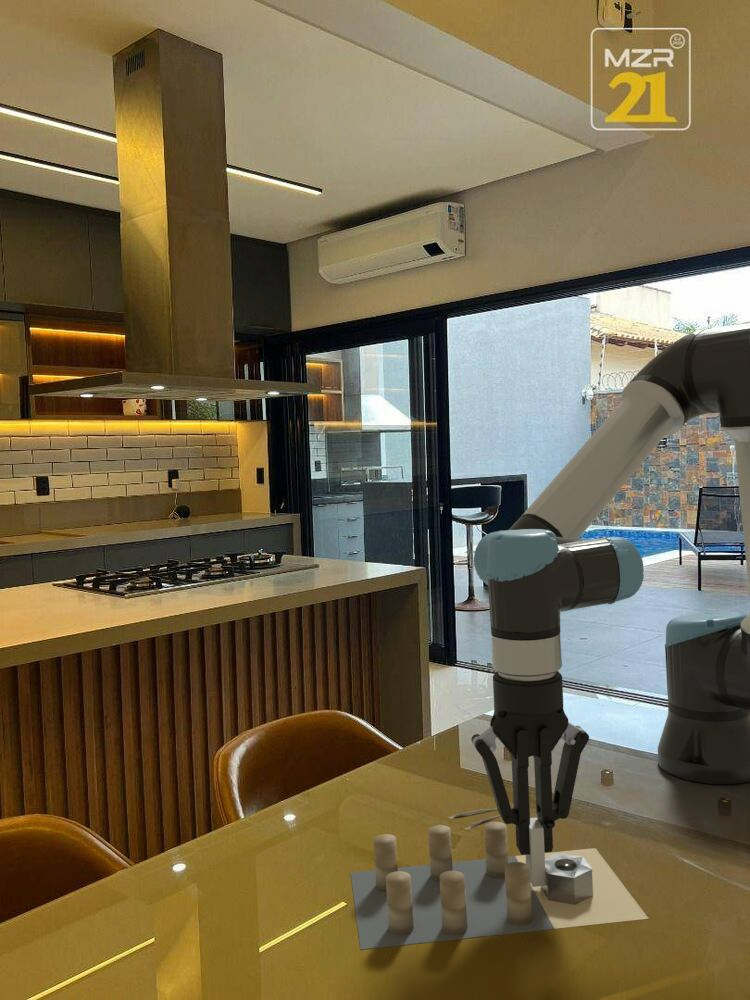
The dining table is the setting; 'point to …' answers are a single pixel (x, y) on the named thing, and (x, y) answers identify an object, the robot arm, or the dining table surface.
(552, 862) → the nut
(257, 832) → the dining table surface
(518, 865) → the pegs
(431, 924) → the mat
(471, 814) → the metal tweezers
